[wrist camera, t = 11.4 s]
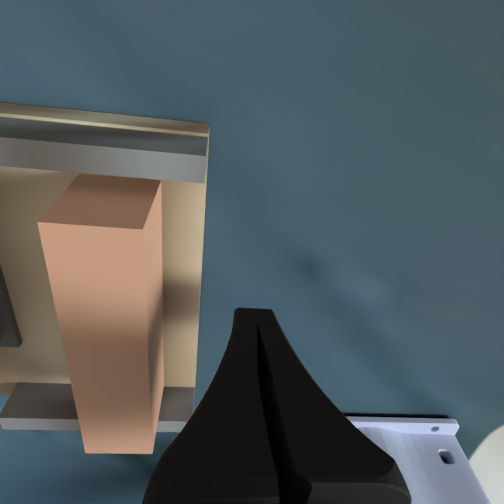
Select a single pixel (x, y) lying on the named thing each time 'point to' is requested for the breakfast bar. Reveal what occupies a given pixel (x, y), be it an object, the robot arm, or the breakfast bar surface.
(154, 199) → the block
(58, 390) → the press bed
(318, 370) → the breakfast bar surface
